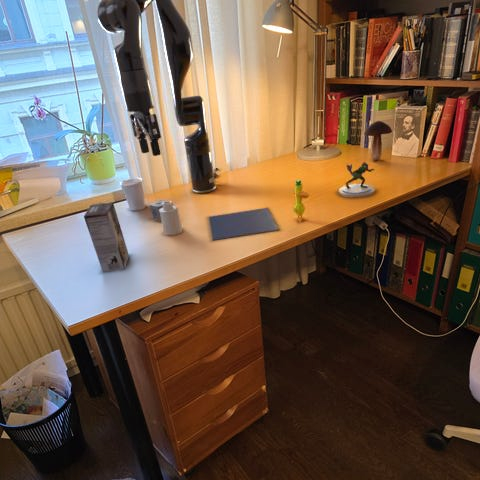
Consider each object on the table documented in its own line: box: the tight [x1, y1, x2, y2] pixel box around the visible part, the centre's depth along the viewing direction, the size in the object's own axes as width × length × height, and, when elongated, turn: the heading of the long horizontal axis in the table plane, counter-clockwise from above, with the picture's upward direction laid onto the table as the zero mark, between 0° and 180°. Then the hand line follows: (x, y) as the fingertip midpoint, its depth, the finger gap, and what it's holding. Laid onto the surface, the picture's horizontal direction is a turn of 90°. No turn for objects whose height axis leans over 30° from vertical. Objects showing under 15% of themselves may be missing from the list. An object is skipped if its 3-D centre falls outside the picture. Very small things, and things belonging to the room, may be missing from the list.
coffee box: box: [83, 201, 130, 273], centre depth 112 cm, size 9×6×16 cm
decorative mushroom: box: [363, 120, 393, 161], centre depth 169 cm, size 11×11×15 cm
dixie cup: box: [119, 177, 146, 211], centre depth 153 cm, size 8×8×10 cm
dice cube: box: [148, 199, 166, 222], centre depth 143 cm, size 5×5×5 cm
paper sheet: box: [208, 207, 280, 241], centre depth 131 cm, size 20×20×1 cm
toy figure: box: [292, 179, 310, 222], centre depth 124 cm, size 7×4×12 cm, turn 32°
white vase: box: [159, 200, 183, 236], centre depth 129 cm, size 6×6×10 cm
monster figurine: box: [338, 161, 376, 199], centre depth 140 cm, size 12×12×10 cm
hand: (151, 154), depth 119 cm, fingers open, 8 cm apart
